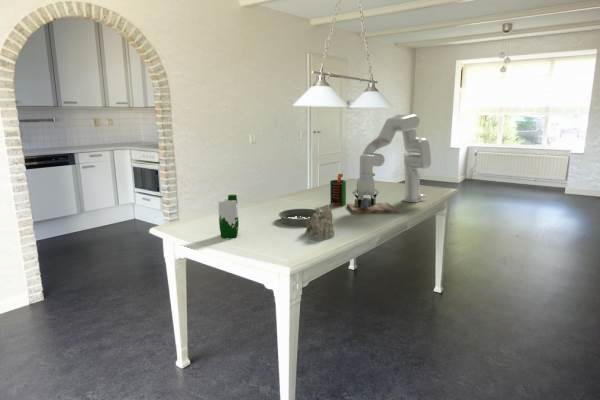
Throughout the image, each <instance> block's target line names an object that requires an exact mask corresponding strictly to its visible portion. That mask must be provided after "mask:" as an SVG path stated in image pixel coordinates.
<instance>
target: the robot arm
mask: <svg viewBox="0 0 600 400" xmlns="http://www.w3.org/2000/svg"><path fill="white" fill-rule="evenodd" d="M419 124H420V118H419V116H418V115H417V114H396V115H393V117H388V118H387V119H386V120H385V122H384V124H383V126H382V128H381V130H380V132H379V134H378V136H377V137H376V138H374V139H373V140H372V141H371V142H369V143H368V144H367V145H366V147H365V148H364V151H363V152H362V154H361V155H360V156H359V177H358V178H357V180H356V181H357V183H356V189H355V190H353V192H351V193H352V194H353V196H354V197H355V199H357V204H358V205H359V206H361V200H360V197H361V195H364V196H370V199H371V205H372V206H373V204H374V198H375V197H376V198H377V196H378V195H379V194H380V191H378V189H376V188H375V180H374V176H376V173H373V169H374V168H373V167H382V166H383V165H384V163H385V161H386V160H385V157H384V155H383V154H382V153H377V152H376V151H377V150H379V149H381V148H384V147H386V146H389V145H390V144H392V142H393V139H394V138H395V135H396V133H397V132H400V133H402V137H403V145H404V150H405V151H406V152H407V154H406V155H405V156H404V158H403V159H404V160H403V161H404V162H403V163H404V170H405V171H404V172H405V173H404V197H402V198H401V201H403V202H407V203H418V202H419V203H420V202H421V201H422V198H424V199H425V198H427V194H421V193H420V183H421V182H420V181H421V173H420V171H419V169H420V170H421V169H423V170H425V169H426V170H427V169H429V168H430V167H431V165H432V158H431V157H432V156H431V155H432V154H431V147H430V142H429V140H428V139H426V138H424V137H418V135H417V130H416V128H418V126H419ZM375 152H376V153H375ZM356 193H357V194H356ZM373 194H374V195H373Z"/></svg>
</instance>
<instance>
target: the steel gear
mask: <svg viewBox="0 0 600 400" xmlns="http://www.w3.org/2000/svg"><path fill="white" fill-rule="evenodd" d="M364 198H365V197H364ZM364 198H360V200H361V206H360V207H363V208H364V207H365V208H368V207H371V197H370V198H369V197H366V198H367V200H364Z"/></svg>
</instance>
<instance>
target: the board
mask: <svg viewBox="0 0 600 400" xmlns="http://www.w3.org/2000/svg"><path fill="white" fill-rule="evenodd" d="M374 194H375V193H374ZM374 194H373V195H374ZM360 198H364V200H367V198H368V197H365V195H361V197H360ZM346 208H347V209H348V210H349V211H350V212H351V213H352V214H353V215H371V214H372V215H374V214H398V208H396V207H394V206H393V205H391V204H390V203H389V202H377V196H376V197H375V198H374V204H373V206H372V205H371V207H368V208H365V207H364V208H363V207H357V206H355V203H346Z"/></svg>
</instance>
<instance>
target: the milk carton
mask: <svg viewBox="0 0 600 400" xmlns="http://www.w3.org/2000/svg"><path fill="white" fill-rule="evenodd" d="M238 206H239V205H238V196H237V194H228V195H227V197H226V198H220V199H219V201H218V222H219V223H218V224H219V227H218V228H219V231H220V236H221V237H220V238H221V239H237V237H238V233H239V207H238Z"/></svg>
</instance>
